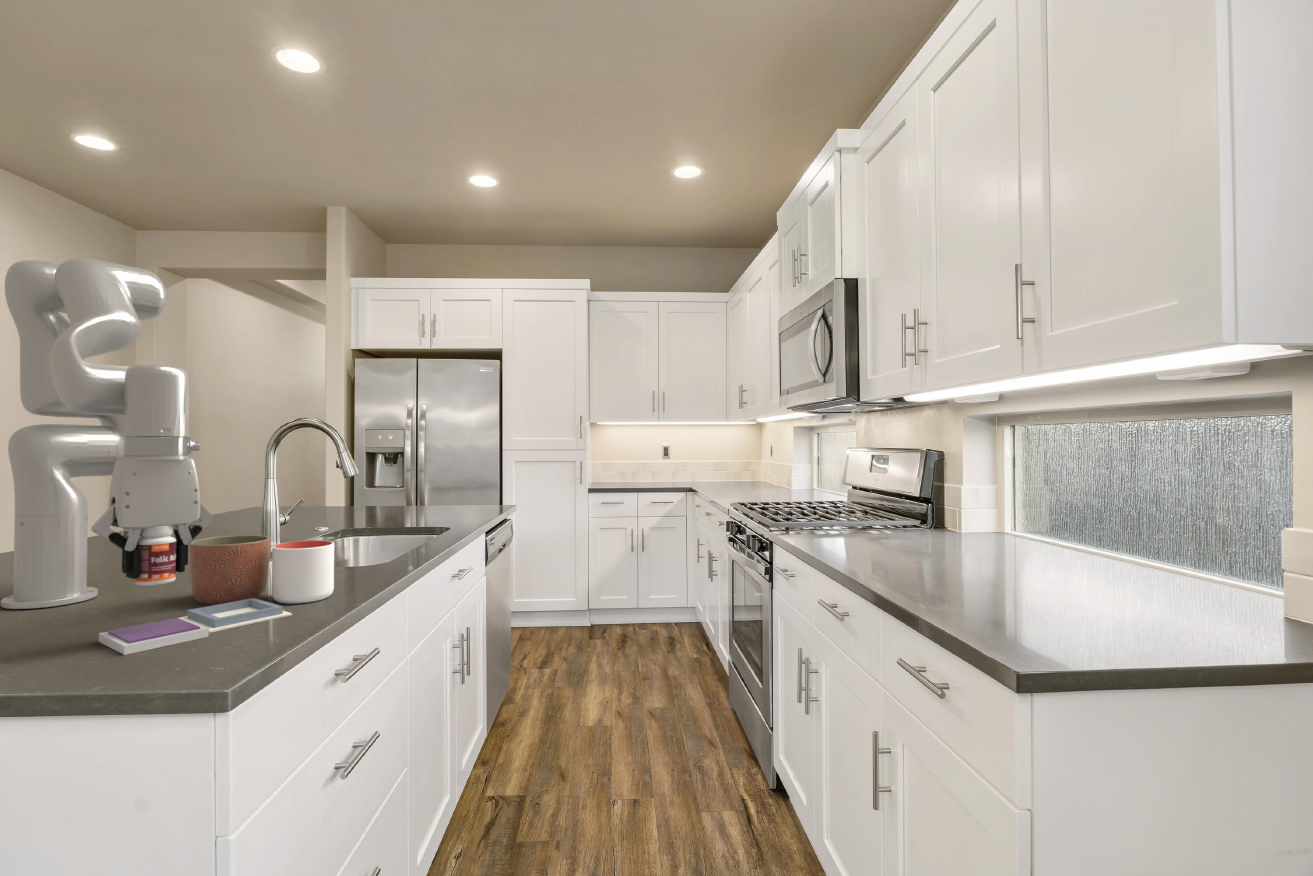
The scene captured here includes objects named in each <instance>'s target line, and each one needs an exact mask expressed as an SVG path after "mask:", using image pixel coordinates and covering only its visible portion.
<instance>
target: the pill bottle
mask: <svg viewBox="0 0 1313 876" xmlns="http://www.w3.org/2000/svg"><path fill="white" fill-rule="evenodd" d="M173 532H174V526H168V525H167V526H155V527H151V528H145V529H141V532H140V535H139V538H138V541H137V544H136V546H137V550H139V551H140V577H138V578H137V579H134V583H135V584H136V585H137V586H155V585H156V586H157V585H164V584H168V583H169V584H170V583H172V582H175V580H176V579H177V572H176V548H177V540H176V538H175V537H174V535H173Z"/></svg>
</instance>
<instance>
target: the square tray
mask: <svg viewBox="0 0 1313 876" xmlns="http://www.w3.org/2000/svg"><path fill="white" fill-rule="evenodd" d="M186 613H187V615H186V616H181V617H179V618H183V619H185V620H188V621H190V622H193V623H196V624H198V625H201V626H203V627H206V628H209V634H210V633H215V632H221V631H225V630H229V629H233V628H234V629H235V628H238V627H239V628H240V627H243V626H249V625H252V624H253V625H254V624H257V623H263V622H267V621H272V620H276V619H281V618H285V617H289V616H293V613H291V612H289V611H285V610H284V606H283V605H279V604H276V603H272V602H269V601H265V600H261V599H259V598H257V597H256V598H251V599H246V600H240V601H235V602H229V603H224V604H212V605H207V606H203V607H197V608H193V609H187V612H186Z"/></svg>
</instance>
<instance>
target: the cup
mask: <svg viewBox="0 0 1313 876" xmlns="http://www.w3.org/2000/svg"><path fill="white" fill-rule="evenodd" d="M271 549H272V550H271V551H272V555H271V556H272V557H271V558H272V559H271V560H272V561H271V564H272V565H271V596H272V598H273V600H274V601H275V602H278V603H281V604H290V605H293V604H294V605H297V604H308V603H314V602H318V601H321V600H325V599H327V598H329V597H331V595H332V594H333V593H334V590H335V542H333V541H332V540H331V541H329V540H315V539H314V540H300V541H299V540H298V541H296V540H295V541H288V542H281V543H278V544H274V545H273V546H272V548H271Z"/></svg>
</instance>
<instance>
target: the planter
mask: <svg viewBox="0 0 1313 876" xmlns="http://www.w3.org/2000/svg"><path fill="white" fill-rule="evenodd" d="M271 542H272V541H271V537H270V536H267V535H261V534H239V535H238V534H237V535H235V534H234V535H222V536H213V537H212V536H211V537H204V538H199V539H196V540H195V539H193V540H192V542H191V543H190V544H189V545H188V553H189V577H190V588H191V592H192V595H193V597H194V599H195V600H196V601H198V602H199V603H202V604H206V605H219V604H224V603H229V602H235V601H240V600H246V599H251V598H256V599H257V598H258V597H260V596H261V595H262V594H263V593H264V592H265V590H266V588H267V585H268V579H269V574H270V573H269V572H270V561H271V560H270V558H271Z"/></svg>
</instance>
